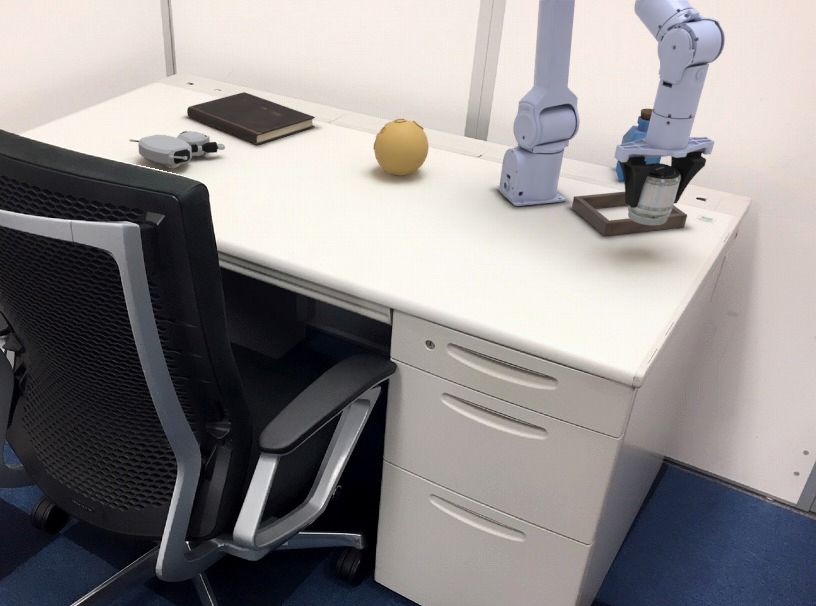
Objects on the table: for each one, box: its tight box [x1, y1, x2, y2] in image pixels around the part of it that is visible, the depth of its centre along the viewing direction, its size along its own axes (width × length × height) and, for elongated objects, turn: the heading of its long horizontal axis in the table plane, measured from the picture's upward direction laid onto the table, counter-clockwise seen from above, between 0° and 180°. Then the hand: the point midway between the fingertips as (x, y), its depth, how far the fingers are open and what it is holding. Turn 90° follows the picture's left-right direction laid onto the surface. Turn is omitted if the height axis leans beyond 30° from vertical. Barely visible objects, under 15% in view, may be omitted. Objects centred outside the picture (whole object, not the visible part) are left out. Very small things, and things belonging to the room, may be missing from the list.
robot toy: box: [129, 130, 226, 169], centre depth 162 cm, size 12×4×15 cm
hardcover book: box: [186, 91, 316, 146], centre depth 180 cm, size 16×23×2 cm
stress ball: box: [373, 118, 429, 176], centre depth 155 cm, size 10×10×10 cm
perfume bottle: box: [615, 108, 662, 183], centre depth 154 cm, size 6×6×12 cm
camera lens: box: [627, 162, 681, 225], centre depth 127 cm, size 6×6×8 cm
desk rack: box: [571, 191, 688, 237], centre depth 142 cm, size 14×11×2 cm
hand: (650, 203), depth 128 cm, fingers closed on camera lens, 6 cm apart
